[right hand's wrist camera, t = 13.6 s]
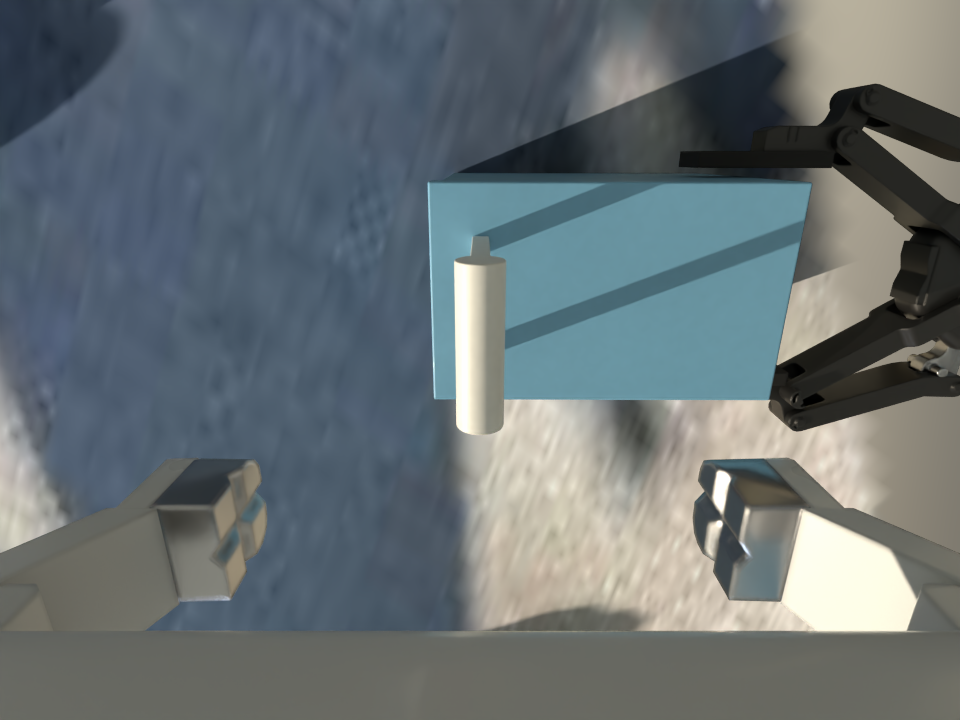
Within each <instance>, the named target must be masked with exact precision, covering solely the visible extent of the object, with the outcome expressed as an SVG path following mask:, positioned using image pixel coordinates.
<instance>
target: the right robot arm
mask: <svg viewBox="0 0 960 720" xmlns="http://www.w3.org/2000/svg"><path fill="white" fill-rule="evenodd" d="M261 482H262V478H261V473H260V468H259V465H258V463H257V462H256V461H255V460H254V459H204V458H201V459H198V458H174V459H167V460H166V461H165V462H164V463H163V464H162V465H160V466H159V467H158V468H157V469H156V470H155V471H154V472H153V473H152V474H151V475H150V476H149V477H148V478H147V479H146V480H145V481H144V482H143V483H142V484H141V485H139V486H138V487H137V488H136V489H135V490H134V491H133V492H132V493H131V494H130V495H129V496H128V497H127V498H126V499H125V500H124V501H123V502H122V503H121V504H119V505H118V506H117V507H116V508H106V509H103V510H101V511H99V512H96V513H94V514H92V515H89V516H87V517H85V518H82V519H80V520H78V521H75V522H73V523H71V524H68V525H66V526H63V527H61V528H59V529H56V530H54V531H52V532H49V533H47V534H45V535H42V536H40V537H38V538H35V539H33V540H31V541H28V542H26V543H24V544H21V545H19V546H16V547H14V548H12V549H9V550H7V551H5V552H2V553H0V720H960V553H957V552H955V551H953V550H950V549H948V548H946V547H943V546H941V545H939V544H936V543H934V542H932V541H929V540H927V539H925V538H922V537H920V536H918V535H915V534H913V533H910V532H908V531H906V530H903V529H901V528H899V527H896V526H894V525H892V524H889V523H887V522H885V521H882V520H880V519H878V518H875V517H873V516H871V515H868V514H866V513H864V512H861V511H859V510H857V509H854V508H844V507H843V506H842V505H841V504H840V503H838V502H837V501H836V500H835V499H834V498H833V497H832V496H831V495H830V494H829V493H828V492H827V491H826V490H825V489H824V488H823V487H822V486H821V485H820V484H819V483H818V482H816V481H815V480H814V479H813V478H812V477H811V476H810V475H809V474H808V473H807V472H806V471H805V470H804V469H803V468H802V467H801V466H800V465H799V464H798V463H797V462H795V461H794V460H792V459H789V458H769V459H725V460H705V461H703V463H702V466H701V468H700V472H699V478H698V482H699V483H700V485H701V486H702V488H703V489H704V491H705V492H704V493H703V494H702V495H701V496H700V497H699V498H698V499H697V500H696V501H695V503H694V512H693V525H694V534H695V537H696V540H697V543H698V545H699V547H700V549H701V551H702V553H703V554H704V555H706V556H707V557H709V558H710V559H712V560H713V561H715V563H714V569H713V572H714V574H715V576H716V578H717V579H718V581H719V583H720V585H721V586H722V588H723V590H724V592H725V593H726V595H727V597H728V599H729V600H741V601H778V602H781V604H782V605H783V606H784V607H785V608H787V609H788V610H789V611H791V612H792V613H793V614H795V615H796V616H797V617H798V618H800V619H801V620H802V621H804V622H805V623H806V624H808V625H809V626H810V627H812V628H813V629H814V630H815V631H145V630H146V629H147V628H149V627H150V626H151V625H153V624H154V623H155V622H157V621H158V620H159V619H160V618H162V617H163V616H164V615H166V614H167V613H168V612H170V611H171V610H172V609H173V608H175V607H176V606H177V605H179V602H182V601H217V600H231V599H232V597H233V595H234V594H235V592H236V590H237V588H238V587H239V585H240V583H241V581H242V579H243V578H244V576H245V574H246V572H247V569H246V563H245V561H247V560H248V559H250V558H251V557H253V556H254V555H256V554H257V553H258V551H259V549H260V547H261V545H262V543H263V540H264V536H265V532H266V528H267V510H266V503H265V501H264V500H263V499H262V498H261V497H260V496H259V495H258V494H257V493H256V492H255V491H256V489H257V488H258V486H259V485H260V483H261Z"/></svg>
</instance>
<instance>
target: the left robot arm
mask: <svg viewBox="0 0 960 720" xmlns="http://www.w3.org/2000/svg"><path fill="white" fill-rule="evenodd" d="M863 127H866V128H869V129H871V130H874V131H876V132H879V133H881V134H884V135H886V136H889V137H891V138H893V139H896V140H898V141H901V142H903V143H906V144H908V145H911V146H913V147H916V148H918V149H921V150H923V151H926V152H928V153H930V154H933V155H935V156H938V157H940V158H943V159H946V160H950V161H956V162H960V118H959V117H957V116H954V115H952V114H950V113H947V112H945V111H942V110H940V109H938V108H935V107H933V106H930V105H928V104H926V103H923V102H921V101H919V100H916V99H914V98H911V97H909V96H906V95H904V94H902V93H899V92H897V91H895V90H892V89H890V88H887V87H885V86H883V85H880V84H871V85H865V86H860V87H855V88H849V89H844V90H840V91H838V92H837V93H835V94H834V95H833V97H832V98H831V100H830V112H829V113H828V115H827V117H826V118H825V120H824V121H823V122H822V123H821V124H819V125H818V126H772V127H764V128H761V129H759V130H756V131H754V133H753V139H752V146H751V151H685V152H680V161H679V167H694V168H832V167H834V168H835V169H836V170H837V171H839V172H840V173H841V174H842V175H844V176H845V177H846V178H848V179H849V180H850V181H851V182H853V183H854V184H855V185H856V186H858V187H859V188H860V189H861V190H863V191H864V192H865V193H866V194H868V195H869V196H870V197H872V198H873V199H874V200H875V201H877V202H878V203H879V204H880V205H882V206H883V207H884V208H885V209H887V210H888V211H889V212H890V213H892V214H893V215H894V216H895V217H894V220H895V221H897V222H898V223H899V224H900V225H902V226H903V227H904V228H905V229H907V230H908V231H909V232H911V233H912V234H913V236H912V238H911V239H910V241H904V244H903V248H902V251H901V269H900V271H899V273H898V275H897V277H896V278H895V280H894V282H893V285H892V289H891V293H890V296H892V297H895V298H894V299H892V300H890V301H888V302H886V303H884V304H882V305H881V306H879V307H877V308H875V309H873V310H872V311H870V313H869V317H868V318H866V319H864V320H862V321H860V322H859V323H857V324H855V325H853V326H851V327H849V328H847V329H845V330H844V331H842V332H840V333H838V334H836V335H834V336H832V337H830V338H828V339H827V340H825V341H823V342H821V343H819V344H817V345H815V346H813V347H812V348H810V349H808V350H806V351H804V352H802V353H800V354H798V355H796V356H795V357H793V358H791V359H789V360H787V361H785V362H783V363H781V364H780V365H776V368H775V373H774V378H773V383H772V388H771V393H770V398H769V400H771V401H770V402H769V410H770V411H771V412H772V413H773V414H774V415H775V416H777V417H778V418H779V419H780V420H781V421H782V422H783V423H785V424H786V425H787V426H788V427H789V428H790V429H792V430H793V431H803V430H806V429H810V428H813V427H817V426H820V425H824V424H828V423H831V422H835V421H838V420H842V419H845V418H849V417H852V416H856V415H859V414H863V413H866V412H870V411H873V410H877V409H881V408H884V407H888V406H891V405H895V404H898V403H902V402H905V401H909V400H912V399H916V398H919V397H923V396H936V397H956V396H959V395H960V376H959V375H957V372H958V369H959V366H960V204H957V203H954V202H951V201H949V200H947V199H945V198H944V197H943V196H942V195H940V194H939V193H938V192H937V191H936V190H934V189H933V188H932V187H931V186H930V185H928V184H927V183H926V182H925V181H923V180H922V179H921V178H920V177H919V176H917V175H916V174H915V173H914V172H912V171H911V170H910V169H909V168H908V167H906V166H905V165H904V164H903V163H902V162H900V161H899V160H898V159H897V158H895V157H894V156H893V155H892V154H890V153H889V152H888V151H887V150H886V149H884V148H883V147H882V146H881V145H880V144H878V143H877V142H876V141H875V140H873V139H872V138H871V137H870V136H869V135H867V134H866V133H865V132H864V131H863V130H862V129H863ZM906 317H907V318H906ZM930 340H934V341H935V342H936V344H935V346H934V347H933V348H932V349H931V350H930V351H928V352H926V353H922V354H919V355H915V354H912V355H910V356H909V357H908V359H907V362H896V363H890V364H886V365H882V366H879V367H875V368H872V369H868V370H865V371H861V372H858V373H856V372H857V371H859V370H861V369H863V368H865V367H867V366H869V365H871V364H873V363H875V362H877V361H879V360H881V359H883V358H885V357H887V356H889V355H891V354H892V353H894V352H896V351H898V350H900V349H902V348H905V347H915V346H920V345H922V344H925V343H926V342H928V341H930ZM854 373H855V374H854Z"/></svg>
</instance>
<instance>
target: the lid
mask: <svg viewBox="0 0 960 720" xmlns="http://www.w3.org/2000/svg"><path fill="white" fill-rule="evenodd" d="M811 188H812V183H811V182H801V181H472V180H432V181H430V182H428V208H429V242H430V276H431V310H432V344H433V378H434V398H435V399H456V421H457V427H458V428H459V429H460V430H461V431H463V432H465V433H468V434H473V435H487V434H492V433H495V432H497V431H499V430H500V429H501V428H502V427H503V419H504V399H570V400H769V398H770V393H771V388H772V383H773V378H774V373H775V368H776V363H777V358H778V353H779V348H780V343H781V338H782V333H783V328H784V323H785V318H786V313H787V308H788V303H789V298H790V293H791V288H792V283H793V278H794V273H795V268H796V263H797V258H798V253H799V248H800V243H801V238H802V233H803V228H804V223H805V218H806V213H807V208H808V203H809V198H810V193H811Z"/></svg>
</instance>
